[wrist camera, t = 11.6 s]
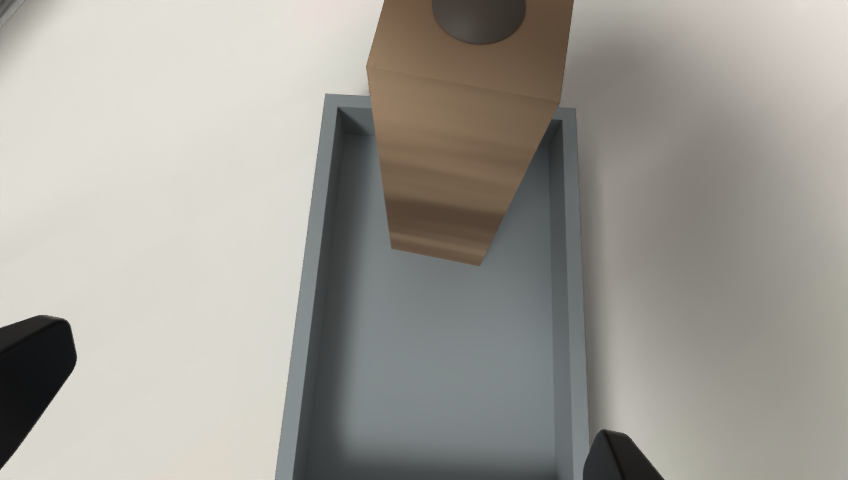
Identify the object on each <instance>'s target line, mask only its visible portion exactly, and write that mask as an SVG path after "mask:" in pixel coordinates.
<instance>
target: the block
mask: <svg viewBox="0 0 848 480" xmlns="http://www.w3.org/2000/svg"><path fill="white" fill-rule="evenodd" d="M573 3H574V0H384V4H383V7H382V11H381V14H380V18H379V22H378V25H377V29H376V32H375V36H374V40H373V43H372V47H371V51H370V54H369V58H368V61H367V65H366V69H367V76H368V84H369V91H370V98H371V105H372V113H373V120H374V127H375V134H376V142H377V149H378V156H379V163H380V170H381V178H382V185H383V192H384V199H385V207H386V214H387V221H388V228H389V236H390V243H391V249H395V250H400V251H405V252H410V253H415V254H420V255H425V256H430V257H435V258H440V259H445V260H450V261H455V262H460V263H465V264H470V265H475V266H480V264H481V262H482V260H483V258H484V256H485V254H486V252H487V250H488V248H489V246H490V244H491V242H492V240H493V238H494V236H495V234H496V232H497V230H498V228H499V226H500V224H501V221H502V219H503V217H504V215H505V213H506V211H507V209H508V207H509V205H510V203H511V201H512V199H513V197H514V195H515V193H516V191H517V189H518V187H519V185H520V183H521V181H522V179H523V176H524V174H525V172H526V170H527V168H528V166H529V164H530V162H531V160H532V158H533V156H534V154H535V152H536V150H537V148H538V146H539V144H540V142H541V140H542V138H543V136H544V134H545V131H546V129H547V127H548V125H549V123H550V121H551V119H552V117H553V115H554V113H555V111H556V109H557V107H558V105H559V103H560V98H561V90H562V83H563V76H564V68H565V61H566V54H567V46H568V39H569V32H570V25H571V17H572V10H573Z"/></svg>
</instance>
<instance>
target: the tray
mask: <svg viewBox="0 0 848 480" xmlns="http://www.w3.org/2000/svg"><path fill="white" fill-rule="evenodd" d="M589 451H590V449H589V424H588V399H587V375H586V350H585V325H584V301H583V276H582V251H581V227H580V202H579V178H578V153H577V128H576V109H575V108H558V107H557V109H556V111H555V113H554V115H553V117H552V119H551V121H550V123H549V125H548V127H547V129H546V131H545V134H544V136H543V138H542V140H541V142H540V144H539V146H538V148H537V150H536V152H535V154H534V156H533V158H532V160H531V162H530V164H529V166H528V168H527V170H526V172H525V174H524V176H523V179H522V181H521V183H520V185H519V187H518V189H517V191H516V193H515V195H514V197H513V199H512V201H511V203H510V205H509V207H508V209H507V211H506V213H505V215H504V217H503V219H502V221H501V224H500V226H499V228H498V230H497V232H496V234H495V236H494V238H493V240H492V242H491V244H490V246H489V248H488V250H487V252H486V254H485V256H484V258H483V260H482V262H481V264H480V266H475V265H470V264H465V263H460V262H455V261H450V260H445V259H440V258H435V257H430V256H425V255H420V254H415V253H410V252H405V251H400V250H395V249H391V243H390V236H389V228H388V221H387V214H386V207H385V199H384V192H383V185H382V178H381V170H380V163H379V156H378V149H377V142H376V134H375V127H374V120H373V113H372V105H371V98H370V96H356V95H339V94H325V100H324V107H323V115H322V123H321V130H320V138H319V146H318V153H317V161H316V168H315V176H314V184H313V191H312V199H311V207H310V214H309V222H308V230H307V237H306V245H305V252H304V260H303V268H302V275H301V283H300V291H299V298H298V306H297V314H296V321H295V329H294V336H293V344H292V352H291V359H290V367H289V375H288V382H287V390H286V398H285V405H284V413H283V420H282V428H281V436H280V443H279V451H278V459H277V466H276V474H275V480H583V468H584V463H585V461H586V458H587V456H588V454H589Z"/></svg>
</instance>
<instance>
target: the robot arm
mask: <svg viewBox="0 0 848 480" xmlns="http://www.w3.org/2000/svg"><path fill="white" fill-rule="evenodd" d="M76 361H77V354H76V349H75V344H74V339H73V335H72V330H71V326H70V324H69V322H68V321H67V320H65V319H63V318H58V317H53V316H48V315H38V316H35V317H32V318H29V319H26V320H23V321H20V322H17V323H14V324H11V325H8V326H5V327H2V328H0V470H1V468H2V467H3V466H4V465H5V464H6V462H7V461H8V460H9V459H10V458H11V456H12V455H13V454H14V453H15V451H16V450H17V449H18V447H19V446H20V445H21V443H22V442H23V441H24V439H25V438H26V437H27V435H28V434H29V432H30V431H31V430H32V428H33V427H34V425H35V424H36V422H37V421H38V420H39V418H40V417H41V415H42V414H43V413H44V411H45V410H46V408H47V407H48V405H49V404H50V403H51V401H52V400H53V398H54V397H55V395H56V394H57V393H58V391H59V390H60V388H61V387H62V386H63V384H64V383H65V381H66V380H67V378H68V377H69V376H70V374H71V373H72V371H73V369H74V367H75V365H76ZM583 480H664V478H663V477H662V476H661V475H660V473H659V472H658V471H657V470H656V469H655V467H654V466H653V465H652V464H651V463H650V461H649V460H648V459H647V458H646V456H645V455H644V454H643V453H642V452H641V450H640V449H639V448H638V447H637V446H636V444H635V443H634V442H633V441H632V439H631V438H630V437H629V436H627V435H626V434H624V433H620V432H615V431H611V430H606V429H604V430H600V431H599V432H598V434H597V435H596V438H595V440H594V442H593V445H592V447H591V449H590V451H589V454H588V456H587V458H586V461H585V463H584V468H583Z"/></svg>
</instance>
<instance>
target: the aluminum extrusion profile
mask: <svg viewBox="0 0 848 480" xmlns="http://www.w3.org/2000/svg"><path fill="white" fill-rule="evenodd" d="M24 1H25V0H0V29H1V28H2V27H3V25H4V24H5V23H6V22H7V21H8V20H9V19H10V17H11V16H12V15H13V14H14V13H15V12H16V11H17V9H18V8H19V7H20V6H21V5H22V4H23V3H24Z"/></svg>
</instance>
